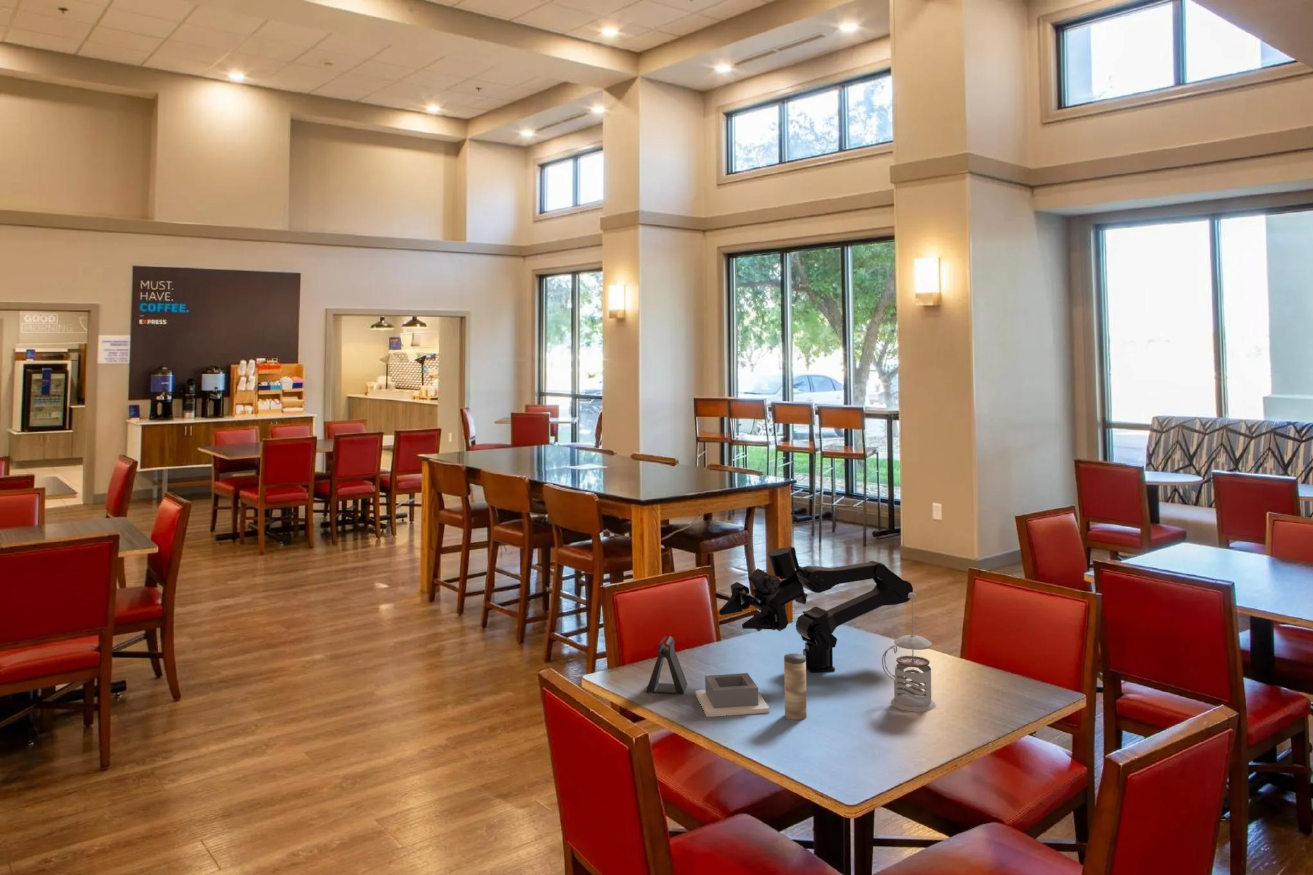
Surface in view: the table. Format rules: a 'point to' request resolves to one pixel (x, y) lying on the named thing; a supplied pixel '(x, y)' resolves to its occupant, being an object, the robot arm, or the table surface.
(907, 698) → the french press
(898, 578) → the robot arm
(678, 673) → the phone stand
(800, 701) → the rail post
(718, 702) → the post socket
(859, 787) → the table surface
